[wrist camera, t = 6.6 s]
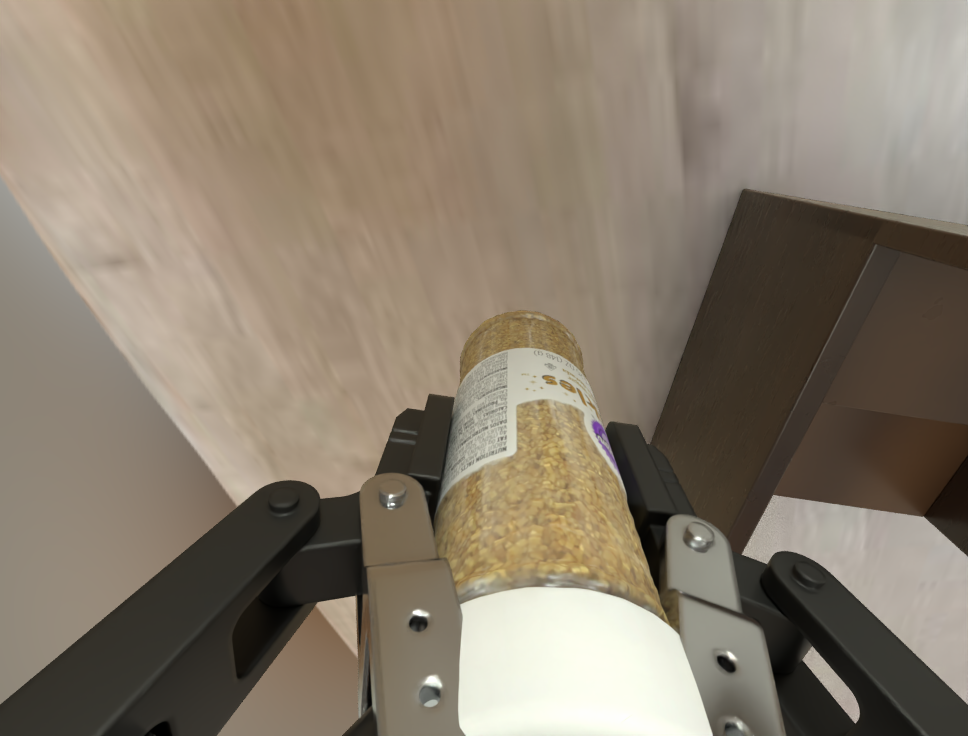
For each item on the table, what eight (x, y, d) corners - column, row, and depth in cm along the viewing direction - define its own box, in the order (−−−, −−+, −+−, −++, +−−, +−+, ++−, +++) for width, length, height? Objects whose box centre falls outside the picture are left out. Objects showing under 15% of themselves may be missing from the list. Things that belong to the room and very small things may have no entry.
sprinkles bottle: (605, 367, 18) (829, 863, 6) (513, 435, 19) (537, 944, 7) (525, 278, 16) (596, 686, 4) (432, 359, 18) (292, 832, 6)
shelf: (648, 449, 31) (747, 664, 18) (743, 188, 24) (1009, 244, 11) (902, 486, 31) (1170, 722, 19) (1067, 241, 24) (1670, 352, 12)
